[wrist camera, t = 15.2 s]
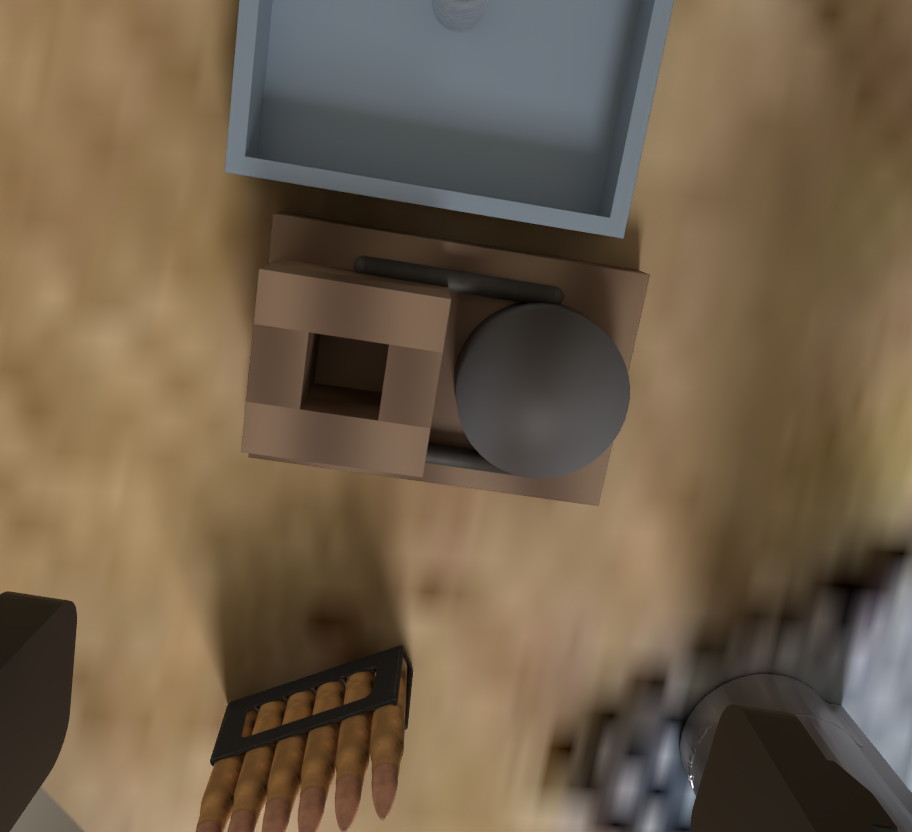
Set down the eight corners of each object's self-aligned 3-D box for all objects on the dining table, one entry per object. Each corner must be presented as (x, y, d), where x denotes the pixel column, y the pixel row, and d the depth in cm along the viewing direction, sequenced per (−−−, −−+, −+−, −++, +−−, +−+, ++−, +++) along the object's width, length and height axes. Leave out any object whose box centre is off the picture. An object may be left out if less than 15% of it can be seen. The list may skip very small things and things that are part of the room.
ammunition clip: (240, 729, 48) (182, 902, 36) (227, 703, 47) (164, 870, 36) (413, 671, 47) (410, 829, 36) (402, 644, 47) (395, 795, 35)
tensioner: (639, 270, 42) (681, 287, 35) (591, 492, 45) (620, 546, 38) (280, 212, 40) (251, 217, 33) (256, 445, 43) (225, 493, 36)
